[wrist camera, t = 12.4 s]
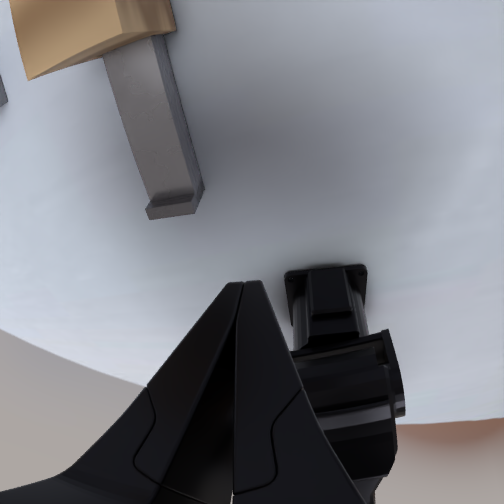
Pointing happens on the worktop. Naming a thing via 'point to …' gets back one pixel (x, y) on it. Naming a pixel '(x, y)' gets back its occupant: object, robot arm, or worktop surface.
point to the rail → (155, 126)
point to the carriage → (82, 29)
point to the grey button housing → (2, 94)
